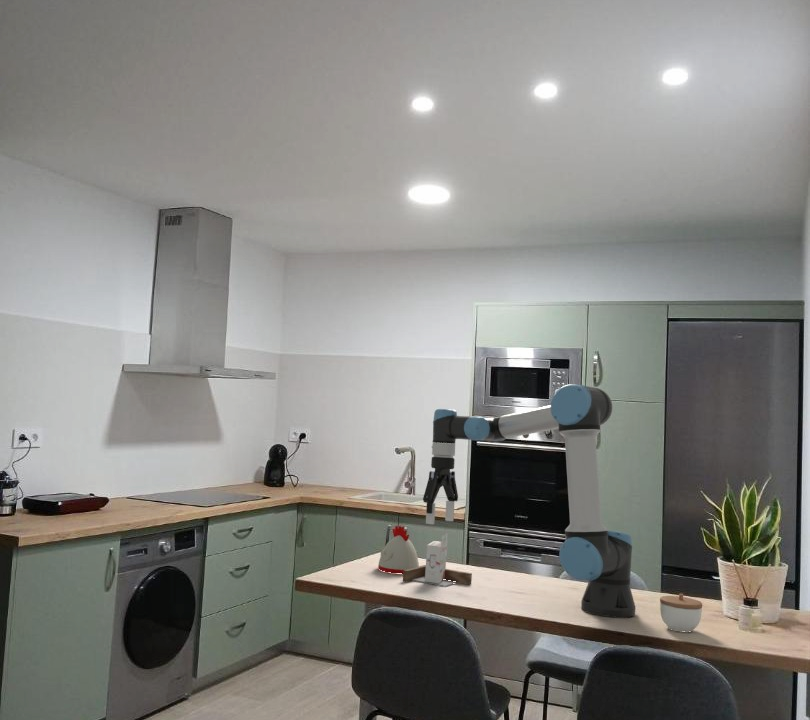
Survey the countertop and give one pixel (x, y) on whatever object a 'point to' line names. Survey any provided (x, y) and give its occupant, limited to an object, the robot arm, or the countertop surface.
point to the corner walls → (449, 575)
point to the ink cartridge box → (436, 560)
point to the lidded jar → (680, 612)
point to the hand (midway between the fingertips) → (439, 522)
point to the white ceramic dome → (398, 553)
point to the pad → (442, 583)
